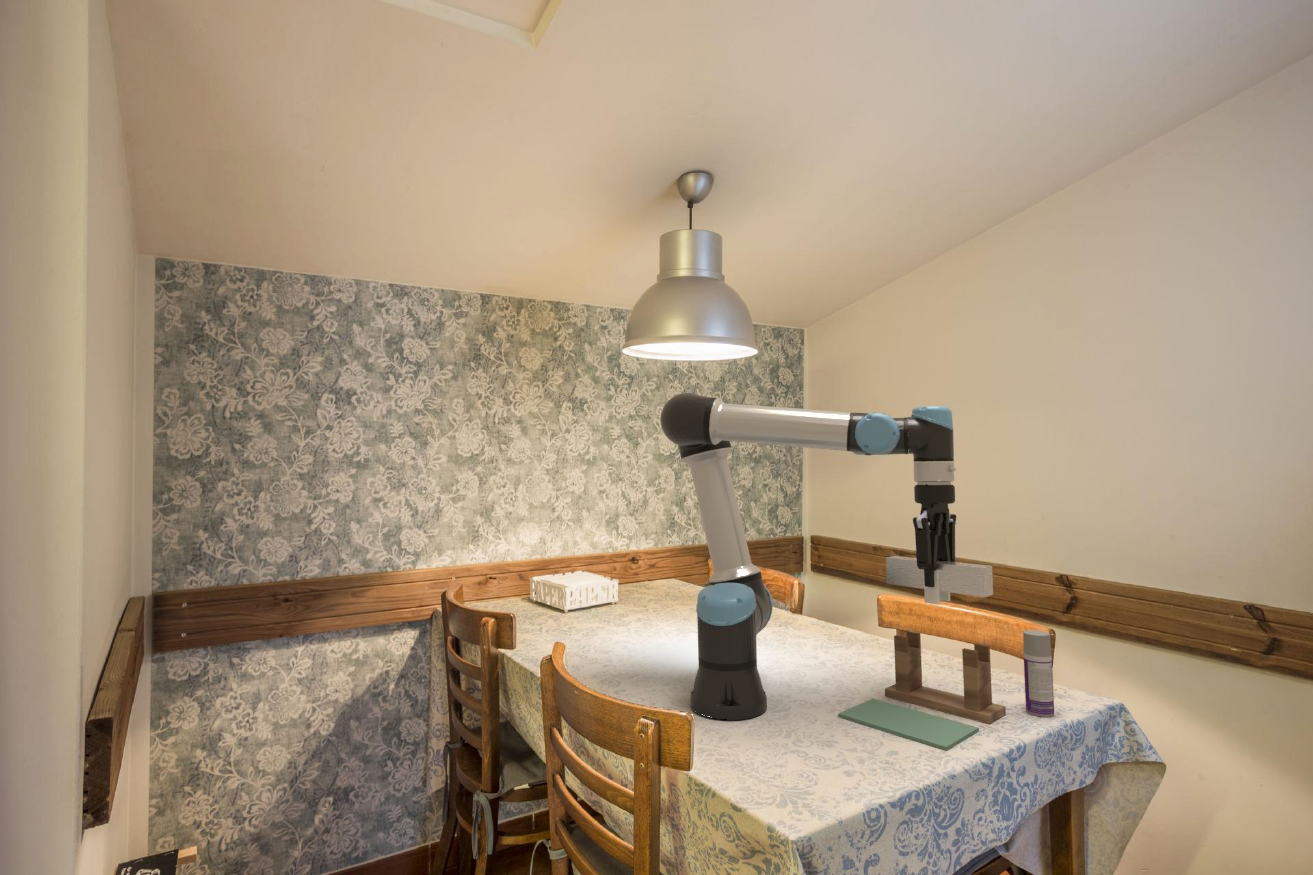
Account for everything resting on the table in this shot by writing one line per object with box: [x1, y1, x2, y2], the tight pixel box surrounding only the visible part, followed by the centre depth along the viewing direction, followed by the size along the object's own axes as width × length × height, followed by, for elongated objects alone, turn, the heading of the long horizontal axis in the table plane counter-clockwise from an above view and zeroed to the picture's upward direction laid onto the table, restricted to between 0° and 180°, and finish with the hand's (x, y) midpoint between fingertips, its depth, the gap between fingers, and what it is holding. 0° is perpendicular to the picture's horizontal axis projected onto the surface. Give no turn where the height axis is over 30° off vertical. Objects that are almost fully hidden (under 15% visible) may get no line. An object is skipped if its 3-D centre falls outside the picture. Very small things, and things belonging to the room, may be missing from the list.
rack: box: [884, 630, 1007, 725], centre depth 132 cm, size 7×21×12 cm, turn 41°
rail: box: [885, 555, 994, 598], centre depth 133 cm, size 4×20×5 cm, turn 41°
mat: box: [837, 698, 980, 752], centre depth 123 cm, size 12×21×1 cm, turn 41°
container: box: [1022, 629, 1055, 718], centre depth 127 cm, size 5×5×15 cm
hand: (937, 601), depth 133 cm, fingers closed on rail, 4 cm apart
